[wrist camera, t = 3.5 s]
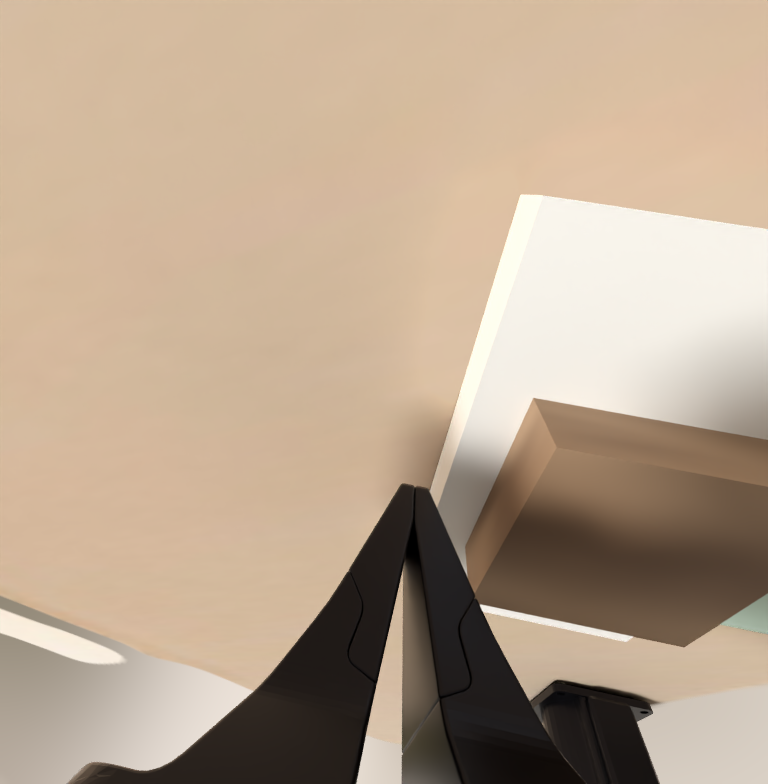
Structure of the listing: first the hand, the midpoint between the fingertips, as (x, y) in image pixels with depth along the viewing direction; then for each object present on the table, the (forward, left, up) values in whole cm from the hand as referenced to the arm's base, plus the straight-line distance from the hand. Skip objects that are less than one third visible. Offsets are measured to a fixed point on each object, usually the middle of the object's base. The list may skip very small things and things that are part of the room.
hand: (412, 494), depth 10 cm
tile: (0, -6, -1) cm, 6 cm away
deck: (0, -6, -3) cm, 7 cm away
